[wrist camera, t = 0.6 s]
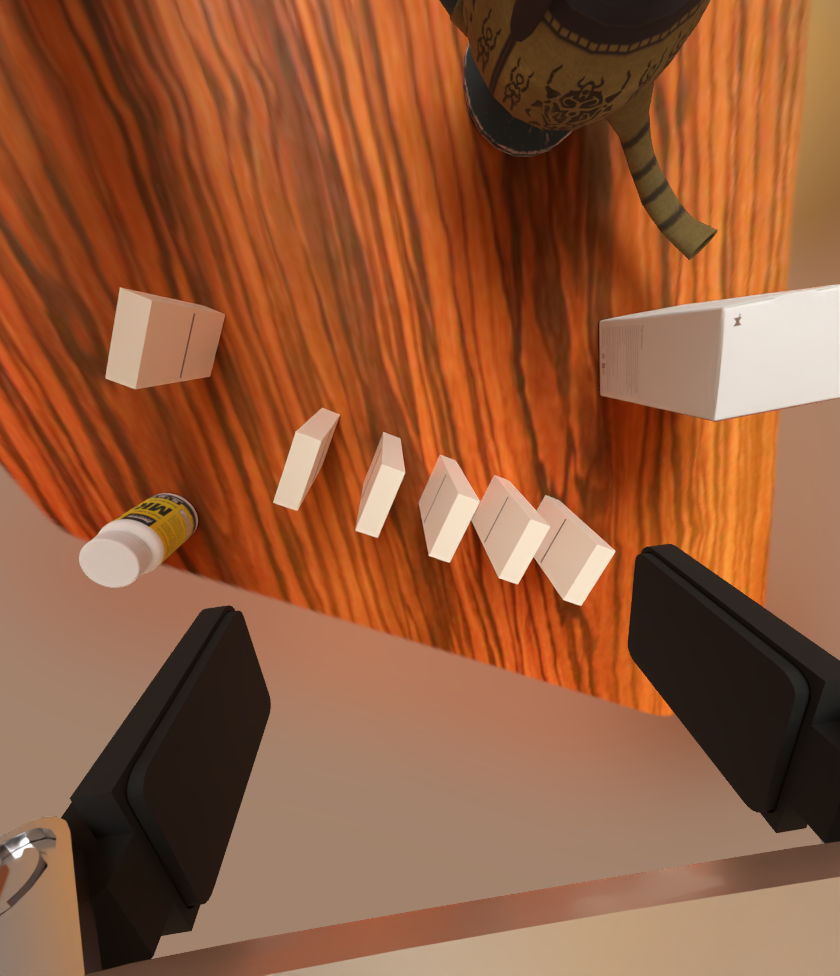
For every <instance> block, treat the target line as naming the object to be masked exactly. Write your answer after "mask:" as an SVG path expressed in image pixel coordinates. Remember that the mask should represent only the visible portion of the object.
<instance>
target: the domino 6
mask: <svg viewBox="0 0 840 976" xmlns="http://www.w3.org/2000/svg"><path fill="white" fill-rule="evenodd" d="M537 512H538V513H539V514H540V515H541V517H542V518H543V519H544V520H545V521H546V522H547V523H548V524H549V525H550V528H549V530H548V532H547V534H546V536H545V537H544V539H543V541H542V543H541V544H540V546H539V548H538V550H537V551H536V553H535V555H534V558H535V560H536V561H537V563H538V564H539V565H540V567H541V568H542V570H543V571H544V573H545V574H546V576H547V577H548V579H549V580H550V581H551V583H552V584H553V586H554V587H555V589H556V590H557V592H558V593H559V595H560V596H561V597H562V599H563V600H565V601H568V602H571V603H574V604H577V605H580V606H581V605H582V604H583V602H584V600H585V599H586V597H587V596H588V594H589V593H590V591H591V589H592V588H593V586H594V585H595V583H596V581H597V580H598V578H599V577H600V575H601V574H602V572H603V570H604V569H605V567H606V566H607V564H608V563H609V561H610V559H611V558H612V556H613V555H614V553H615V552H616V551H615V550H614V549H613V548H612V547H610V546H609V545H608V544H607V543H606V542H605V541H604V540H603V539H602V538H600V537H599V536H598V535H597V534H596V533H595V532H594V531H593V530H592V529H590V528H589V527H588V526H587V525H586V524H585V523H584V522H583V521H582V520H581V519H579V518H578V517H577V516H576V515H575V514H574V513H573V512H572V511H571V510H569V509H568V508H567V507H566V506H565V505H564V504H563V503H562V502H561V501H559V500H557V499H554V498H552V497H549V496H547V495H545V496H544V498H543V500H542V502H541V504H540V506H539V507H538V509H537Z"/></svg>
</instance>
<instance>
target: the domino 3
mask: <svg viewBox="0 0 840 976" xmlns="http://www.w3.org/2000/svg"><path fill="white" fill-rule="evenodd" d="M404 475H405V467H404V460H403V453H402V446H401V439H400V438H398V437H395V436H393V435H390V434H388V433H385V432H383V434H382V437H381V439H380V442H379V444H378V447H377V450H376V452H375V455H374V457H373V460H372V462H371V465H370V467H369V470H368V473H367V475H366V478H365V480H364V483H363V489H362V495H361V501H360V506H359V512H358V518H357V524H356V529H355V531H358V532H361V533H364V534H367V535H370V536H373V537H376V538H378V536H379V534H380V531H381V529H382V527H383V524H384V522H385V520H386V517H387V515H388V512H389V510H390V508H391V505H392V503H393V501H394V498H395V496H396V493H397V491H398V489H399V486H400V484H401V482H402V479H403V477H404Z"/></svg>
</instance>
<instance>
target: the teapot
mask: <svg viewBox="0 0 840 976" xmlns="http://www.w3.org/2000/svg"><path fill="white" fill-rule="evenodd" d="M440 1H441V3H442V4H443V6H444V7H445V9H446V10H447V12H448V13H449V15H450V20H451V21H452V22H453V23H454V24H455V25H456V26H457V27H458V28H459V29H460V30H461V31H462V32H463V33H464V34H465V35H466V37H467V38H468V40H469V42H468V46H467V50H466V54H465V57H464V77H463V88H464V92H465V97H466V101H467V106H468V110H469V113H470V115H471V117H472V119H473V121H474V123H475V124H476V126H477V128H478V130H479V132H480V134H481V135H482V136H483V137H485V138H486V139H487V140H488V141H489V142H490V143H491V144H492V145H493V146H494V147H495V148H496V149H498V150H501V151H503V152H505V153H507V154H510V155H512V156H524V157H534V156H536V155H539V154H542V153H544V152H547V151H550V150H552V149H553V148H555V147H556V146H557V145H558V144H559V143H561V142H562V141H563V140H564V139H565V138H567V137H568V136H569V135H570V134H571V133H572V131H575V130H577V129H580V128H582V127H585V126H588V125H590V124H593V123H596V122H598V121H601V120H603V119H605V118H606V119H607V120H608V122H609V123H610V125H611V126H612V127H613V129H614V130H615V132H616V133H617V134H618V136H619V139H620V142H621V145H622V147H623V150H624V153H625V156H626V159H627V163H628V166H629V169H630V172H631V175H632V177H633V180H634V183H635V185H636V188H637V191H638V194H639V197H640V200H641V203H642V205H643V206H644V208H645V209H646V211H647V212H648V214H649V216H650V217H651V219H652V220H653V221H654V223H655V224H656V225H657V227H658V228H659V230H660V231H661V232H662V233H663V234H664V235H665V236H666V238H667V239H668V240H669V241H670V242H671V243H672V244H673V245H674V246H675V247H676V248H677V249H678V250H679V251H681V252H682V253H683V254H684V255H685V256H686V257H687V258H688V259H689V260H690V259H692V258H693V257H694V256H695V255H696V254H697V253H699V252H700V251H701V250H702V249H703V248H704V247H705V246H706V245H707V244H708V242H709V241H710V240H711V239H712V238H713V237H714V235H715V234H716V232H717V230H716V229H714V228H712V227H710V226H708V225H706V224H703V223H701V222H699V221H697V220H695V219H694V218H693V217H692V216H691V215H690V214H689V213H688V212H687V211H686V210H685V209H684V208H683V206H682V205H681V203H680V202H679V200H678V199H677V197H676V196H675V194H674V192H673V191H672V189H671V187H670V185H669V184H668V182H667V180H666V178H665V176H664V175H663V173H662V171H661V169H660V168H659V165H658V162H657V160H656V157H655V154H654V150H653V145H652V140H651V132H650V118H649V109H650V103H651V97H652V92H653V86H654V81H655V79H656V78H657V77H658V76H659V75H660V74H661V73H662V71H663V70H664V69H665V68H666V67H667V66H668V65H669V63H670V62H671V61H672V60H673V58H674V57H675V55H676V54H677V52H678V51H679V50H680V48H681V47H682V45H683V44H684V42H685V41H686V40H687V38H688V37H689V35H690V34H691V32H692V31H693V29H694V28H695V27H696V25H697V24H698V22H699V21H700V19H701V17H702V15H703V13H704V11H705V9H706V8H707V6H708V4H709V2H710V0H440Z"/></svg>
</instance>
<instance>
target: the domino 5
mask: <svg viewBox="0 0 840 976" xmlns="http://www.w3.org/2000/svg"><path fill="white" fill-rule="evenodd" d="M472 523H473V525H474V527H475V529H476V531H477V534H478V536H479V538H480V540H481V542H482V544H483V546H484V548H485V550H486V553H487V555H488V557H489V559H490V561H491V563H492V565H493V567H494V569H495V571H496V574H497V576H498V578H500V579H503V580H506V581H509V582H512V583H515V584H518V583H519V582H520V580H521V578H522V576H523V574H524V573H525V571H526V569H527V567H528V566H529V564H530V562H531V560H532V559H533V557H534V555H535V553H536V551H537V550H538V548H539V546H540V544H541V543H542V541H543V539H544V537H545V536H546V534H547V532H548V530H549V528H550V525H549V524H548V523H547V522H546V521H545V520H544V519H543V518H542V517H541V515H540V514H539V513H538V512H537V511H536V510H535V509H534V508H533V507H532V505H531V504H530V503H529V502H528V501H527V500H526V499H525V498H524V497H523V495H522V494H521V493H520V492H519V491H518V490H517V489H516V488H515V487H514V485H513V484H512V483H511V482H510V481H509V480H506V479H504V478H501V477H499V476H496V475H494V476H493V478H492V480H491V482H490V484H489V486H488V488H487V490H486V492H485V494H484V496H483V498H482V500H481V502H480V504H479V507H478V509H477V511H476V513H475V515H474V517H473V519H472Z"/></svg>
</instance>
